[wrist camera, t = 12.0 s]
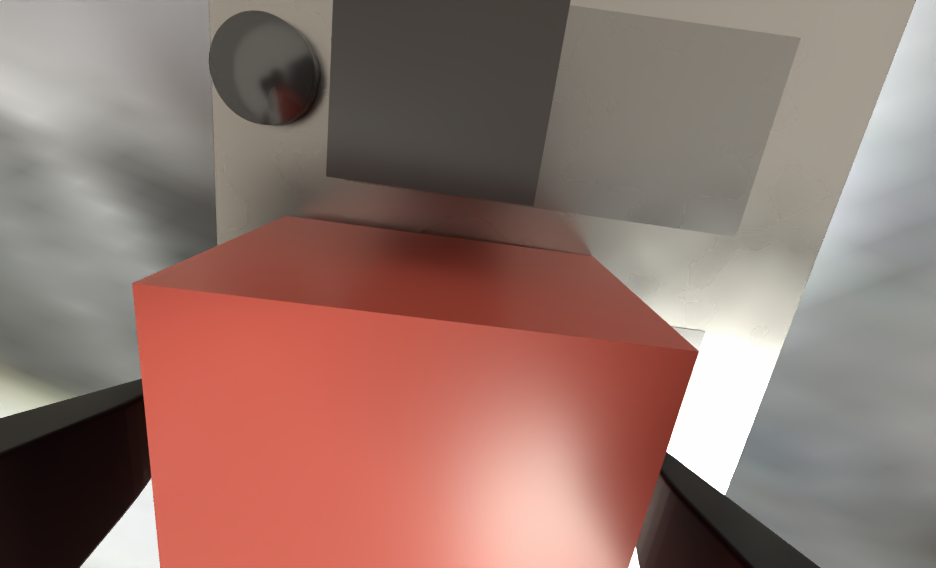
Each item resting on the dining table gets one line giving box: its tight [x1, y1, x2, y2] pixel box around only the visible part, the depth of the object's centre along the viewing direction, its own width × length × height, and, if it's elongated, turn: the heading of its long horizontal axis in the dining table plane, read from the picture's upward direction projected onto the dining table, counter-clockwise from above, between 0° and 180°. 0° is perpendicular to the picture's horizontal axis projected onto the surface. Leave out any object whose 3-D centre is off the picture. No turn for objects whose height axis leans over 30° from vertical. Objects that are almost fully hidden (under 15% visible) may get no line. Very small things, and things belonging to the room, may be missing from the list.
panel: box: [209, 0, 916, 568], centre depth 12 cm, size 13×20×2 cm, turn 172°
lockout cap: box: [132, 216, 699, 568], centre depth 8 cm, size 7×7×5 cm
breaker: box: [326, 0, 571, 206], centre depth 7 cm, size 3×3×3 cm
